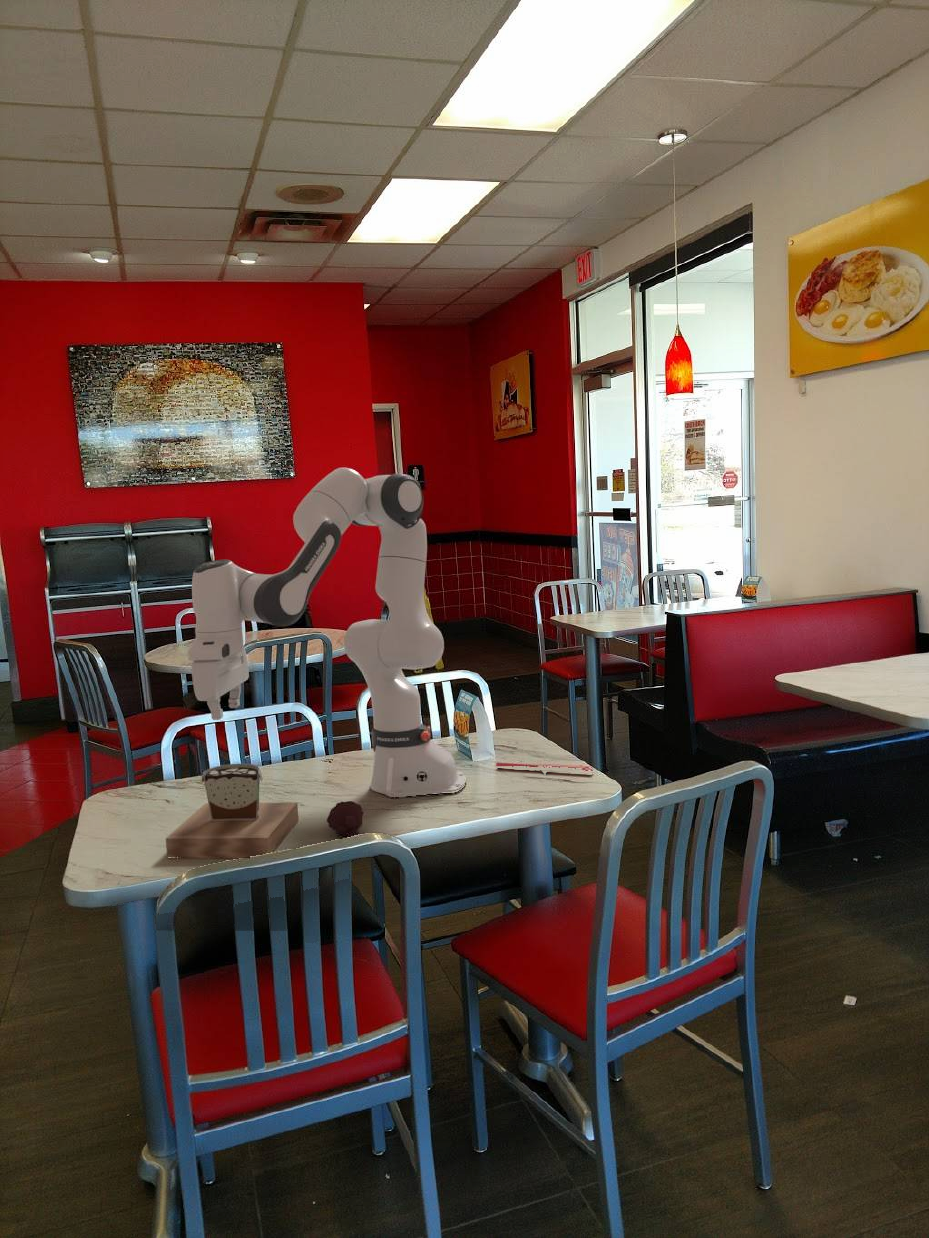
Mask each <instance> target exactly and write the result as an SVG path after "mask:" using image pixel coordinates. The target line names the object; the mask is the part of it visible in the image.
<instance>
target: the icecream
mask: <svg viewBox="0 0 929 1238" xmlns="http://www.w3.org/2000/svg"><path fill="white" fill-rule="evenodd" d="M363 815H364V811H363V808H362V805H360V804H358V803H356V802H355V801H353V800H348V801H340V802H337V803H336V804H335V805H334V807H332V808H331V809H330V811H329V814H328V817H326V822H327V824H328V827H329V828H330V829H332V830H333V831H334V832H336V834H338V835H342V836H347V837H348V836H354V835H358V834H360V832H359V830H360V828H361V827H362V825H363Z"/></svg>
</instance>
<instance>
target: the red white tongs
mask: <svg viewBox="0 0 929 1238" xmlns="http://www.w3.org/2000/svg"><path fill="white" fill-rule="evenodd" d="M496 766H512V767H513V766H526V767H527V766H529V767H538V766H543V767H544V766H546V767H547V766H552V767H559V768H560V767H568V768H575V769H576V768H582V770H585V771H588V770H591V771H593V770H594V769H593V766H588V765H587V766H585V765H584V766H583V764H582V765H581V764H580V765H571V764H570V765H567V764H550V763H527V762H526V763H523V762H509V761H508V762H507V761H504V762H503V761H495V767H496ZM589 767H591V768H592V769H590V768H589ZM544 768H545V767H544ZM549 768H550V767H549ZM593 772H594V771H593Z"/></svg>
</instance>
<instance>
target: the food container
mask: <svg viewBox="0 0 929 1238" xmlns="http://www.w3.org/2000/svg"><path fill="white" fill-rule="evenodd" d="M263 779H264V778H263V773H262V771H261V769H260V767H259V766H257V765H255V764H251V763H229V764H223V765H219V766H214V767H211V768H208V769H206V770H204V771H203V772H202V775H201V781H200V783H203V782H204V787H205V793H206V797H207V798H206V799H207V803H208V804H209V809H210V815H211V820H212V821H215V820H257V819H258V816H259V803H260V782H262V781H263Z"/></svg>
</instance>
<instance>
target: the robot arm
mask: <svg viewBox="0 0 929 1238" xmlns="http://www.w3.org/2000/svg"><path fill="white" fill-rule="evenodd" d="M423 508H424V494H423V489H422V487H421V484H420V483H419V481H418V480H417V479H416V478H415V477H414V476H412V475H409V474H404V473H392V474H382V475H381V474H380V475H374V476H372V477H369V478H364V477H363V476H362V475H361V474H360V473H359V472H358V471H356V470H355V469H353V468H350V467H349V468H348V467H338V468H336V469H334V470H333V471H332V472H330V473H328V474H327V475H326V476H324V478H322V479H321V480H320V481H319V482H318V483H317V484H316V485H315V486H314V487H312V488H311V490H309V492H308V493H307V494H306V495H305V496H304V497H303V499H302V500H301V502H300V503H299V504H298V505H297V507H296V510H295V511H294V513H293V517H292V520H293V526H294V530H295V531H296V534H298V535H297V536H299V538H301V540H302V541H303V542H304V544H303V546H302V548H301V549H300V550H299V552H298V553H297V555H296V556H295V557H294V559H293V560H292V562H291V563H290V565H289V566H288V567H287V568H286V569H284V570H283V571H280V572H278V573H274V574H269V573H268V574H264V573H256V572H253V571H249V570H247V569H244V568H243V567H242V568H241V567H240V566H238V565H237V564H235V563H234V562H233V561H232V560H230V559H217V560H212V561H211V560H210V561H207V562H204V563H201V564H200V565H198V566H197V567H196V568H194V571H193V574H192V579H191V580H192V581H191V596H192V599H191V600H192V609H193V612H194V615H195V618H196V619H195V620H196V624H195V627H194V630H195V631H194V633H195V638H194V641H193V643H192V645H191V647H190V648H188V651H187V656H188V661H190V662H192V664H191V677H192V684H193V691H194V695H195V698H196V700H197V701H200V702H206V703H207V706H208V709H209V710H210V715H211V716H210V717H211V719H212V720H213V721H219V720H221V719H222V718H223V717H224V710H223V708H221V703H220V702H221V697H222V696H224V695H225V694H227V693H229V699H228V707H229V708H230V709H236V708H238V707H239V706H240V705H241V701H240V696H241V694H242V693H241V692H242V684H243V683H244V682H246V681H247V680H249V676H250V673H249V672H250V671H249V664H248V663H249V662H248V657H247V651H246V648H245V646H244V636H243V624H242V623H243V621H250V622H255V623H264V624H269V625H272V626H276V627H281V628H283V627H288V626H291V625H293V624H295V623H296V622H298V621H299V620H300V619H301V617H302V615H304V612H305V610H306V608H307V605H308V603H309V600H310V596H311V594H312V592H313V589H314V588H315V586H316V585H317V584H318V582H319V580H320V579H321V576H322V575H323V573H324V572H325V571H326V569H327V567H328V566H329V565H330V563H331V561H332V559H333V558H334V556H335V555H336V553H337V551H338V549H339V548H340V545H341V542H342V536H343V534H344V533H345V532H346V530H347V529H348V528H349V527H350V525H351V524H353V525H355V526H357V527H358V526H359V527H369V526H370V527H371V526H372V527H378V529H379V531H380V535H381V542H380V547H379V554H378V561H377V569H376V578H375V579H376V580H375V585H374V586H375V587H374V589H375V592H376V594H377V596H378V597H379V598H380V599H381V600H382V601H384V602H385V603H386V605H387V607H388V610H389V611H388V612H389V619H375V618H373V619H372V618H371V619H366V620H361V621H357V622H354V623H352V624H351V625H350V626H349V627H348V628H347V630H346V632H345V635H344V640H343V641H344V642H343V645H344V651H345V653H346V655H347V657H348V658H349V659H350V660H351V662H353V663H355V665H356V666H357V667H358V669H359V671H360V672H361V673H362V675H363V678H364V680H365V682H366V684H367V687H368V691H369V694H370V699H371V707H372V708H371V709H372V718H373V719H372V720H373V727H372V728H371V742H372V743H371V745H372V750H373V752H374V755H373V756H374V759H373V769H372V777H371V781H370V782H371V783H370V786H369V788H370V789H371V790H372V791H373V792H376V793H380V794H383V795H385V796H387V797H388V796H389V798H391V797H394V798H393V799H396V798H395V797H399V798H407V797H406V796H412V797H417V796H416V795H424V794H433V793H442V792H452V791H456V790H460V789H461V788H462V787H463V786H464V785H465V783H466V779H467V775H466V774H465V773H464V772H461V771H458V770H457V764H456V762H455V759H454V756H453V754H451V753H450V751H447V749H445V748H443V747H441V746H440V745H439V744H437V743H435V742H434V741H433V740H431V735H432V734H431V727H430V725H428V726H426V725H425V724H423V723H422V715H421V714H422V712H421V710H422V709H421V696H420V693H419V690H418V688H417V687H416V686H415V685H413V683H411V682H410V681H409V680H408V679H407V677H406V676H405V674H404V672H403V670H420V669H427V668H432V667H434V666H436V665H437V664H438V663H439V662H440V660H441V659H442V657H443V654H444V650H445V641H444V637H443V634H442V632H441V630H440V629H439V628H438V627H437V626H436V625H435V624H434V623H433V621H432V620H431V618H430V616H429V614H428V611H427V607H426V603H425V592H424V591H425V578H426V567H427V557H428V555H427V554H428V540H427V539H428V537H427V526H426V523H425V522H424V520H423V519H422V518H421V517H422V515H423ZM402 669H403V670H402ZM466 784H467V783H466Z"/></svg>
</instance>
